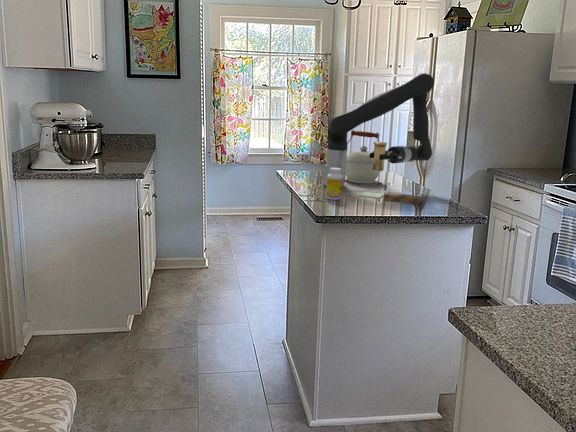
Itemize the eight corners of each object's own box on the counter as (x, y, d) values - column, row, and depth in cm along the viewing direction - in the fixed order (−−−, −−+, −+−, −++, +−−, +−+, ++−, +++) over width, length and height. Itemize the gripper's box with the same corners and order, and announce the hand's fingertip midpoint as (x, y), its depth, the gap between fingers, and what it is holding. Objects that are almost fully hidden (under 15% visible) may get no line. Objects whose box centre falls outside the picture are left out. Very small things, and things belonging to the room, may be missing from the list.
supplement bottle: (340, 200, 232) (342, 170, 229) (324, 199, 233) (326, 168, 230) (342, 197, 239) (344, 168, 236) (326, 196, 240) (328, 166, 237)
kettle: (388, 181, 286) (392, 132, 280) (373, 186, 270) (378, 134, 265) (344, 175, 298) (348, 128, 293) (327, 179, 283) (331, 129, 277)
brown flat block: (383, 200, 238) (383, 194, 237) (387, 197, 245) (387, 192, 244) (417, 205, 232) (417, 199, 232) (420, 202, 239) (421, 196, 238)
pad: (359, 196, 244) (359, 194, 244) (364, 192, 252) (365, 191, 252) (379, 198, 241) (379, 197, 241) (384, 195, 249) (384, 194, 249)
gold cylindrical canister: (369, 169, 241) (372, 142, 238) (373, 168, 246) (375, 141, 243) (382, 171, 239) (385, 143, 236) (385, 169, 244) (388, 142, 241)
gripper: (387, 144, 255) (363, 145, 244) (413, 148, 245) (389, 149, 233) (385, 160, 257) (361, 162, 245) (411, 165, 247) (387, 167, 235)
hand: (375, 156), depth 239 cm, fingers closed on gold cylindrical canister, 4 cm apart
